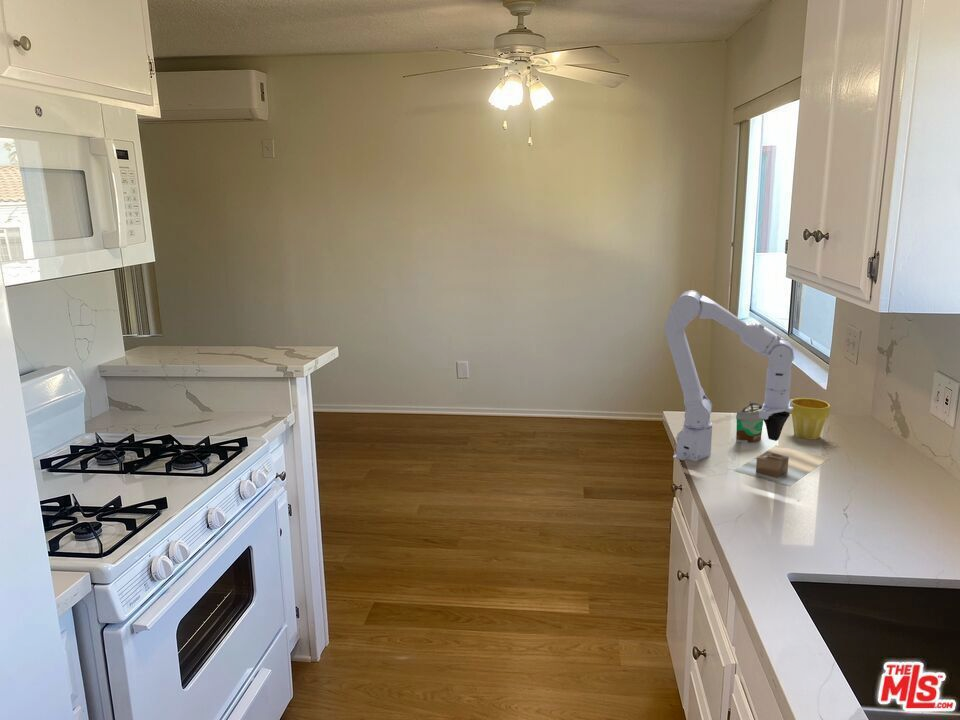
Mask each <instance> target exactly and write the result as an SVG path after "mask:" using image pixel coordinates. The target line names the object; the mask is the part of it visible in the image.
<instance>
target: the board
mask: <svg viewBox="0 0 960 720" xmlns="http://www.w3.org/2000/svg"><path fill="white" fill-rule="evenodd" d="M765 452H772V453H776V454H780V455H784V456H788V457H789V460H788V472H787V473H785V474H784V475H782V476H781V477H779V478H774V477H770V476H767V475H763V474H759V473H756V463H757V457H758V456H760V455H762V454H763V453H765ZM763 453H761V454H759V455H758V456H756V457H755V458H753V459H751V460H750V461H748V462H746V463H744V464H743V465H741V466H739V467H738V468H736V469H734V470H733V471H734V472H736V473H740V474H743V475H747V476H751V477H754V478H758V479H761V480H765V481H768V482H773V483H776V484H780V485H784V486H786V487H791V486H792V485H794V484H795V483H797V482H798V481H799V480H801V479H802V478H804V477H805V476H806V475H807V474H809V473H811V472H812V471H813V470H815V469H816V468H818V467H819V466H820V465H822V464H823V463H825V462H826V461H828V460H829V459H830V457H827V456H824V455H823V456H822V455H819V454H814V453H810V452H805V451H802V450H797V449H793V448H789V447H784V446H779V445H775V446H773V447H771V448H769V449H768V450H766V451H764V452H763Z"/></svg>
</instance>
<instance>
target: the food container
mask: <svg viewBox="0 0 960 720" xmlns="http://www.w3.org/2000/svg"><path fill="white" fill-rule="evenodd" d="M762 406H763V403H762V404H761V403H759V402H756V401H752V400H751V401H749V404H748V406H745V407H744V408H743V409H742V410H741V411H736V416H735V419H736V436H735V437H736V441H735V442H737V443H745V444H746V443H747V444H750V443H757V442H759V441H761V440H762V433H763V425H764V420H763V419H762V418H759V411H760V410H761V409H762Z"/></svg>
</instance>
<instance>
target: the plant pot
mask: <svg viewBox="0 0 960 720" xmlns="http://www.w3.org/2000/svg"><path fill="white" fill-rule="evenodd" d="M792 407H793V410H792V411H789V413H790V415H791V417H792V418H791V419H792V426H793V434H794V436H795V437H797V438H800V439H804V440H817V439H820V437H821V434H822V431H823V428H824V425H825V422H826V420H827V418H829V416H830V413H831V405H830V403H828V402H827V401H825V400H821V399H817V398H809V397H797V398H793V399H792Z"/></svg>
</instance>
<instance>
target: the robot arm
mask: <svg viewBox="0 0 960 720" xmlns="http://www.w3.org/2000/svg"><path fill="white" fill-rule="evenodd" d="M668 313H669V314H668V316H667V318H666V321H665V322H666V323H665V325H664V329H663V330H664V334H665V336H666V337H665V338H666V340H667V344H668V348H669V350H670V354H671V356H672V361H673V364H674V367H675V370H676V373H677V378H678V381H679V383H680V387H681V390H682V394H683V404H684V407H685V411H684V421H683V427H682V429H681V430H680V431H679V432H678V433H677V435H676V450H675V451H676V452H675V454H674V455H673V456H672V458H673V459H676V460H679V461H680V460H681V461H685V460H689V461H693V462H698V461H700V460H702V459H705V458H708V457H711V455H712V436H713V422H712V421H711V420H710V419H711V413H712V412H713V411H712V410H713V403H712V402H711V400H710V399H709V398H708V396H706V394H705V390H704V389H703V387H702V384H701V381H700V379H699V373H698V371H697V369H696V365H695V361H694V358H693V354H692V351H691V348H690V343H689V341H688V338H687V334H686V332H685V331H686V328H687V326H688V325H689V323H690V322H691V321H693V320H694V319H695V318H696V317H698V315H700V316H699V317H698V318H699V320H704V319H707V320H708V319H709V320H710V319H712V320H714V321H716V322H717V323H718V324H721V325H722V326H724V327H726V328H728V329H729V330H731V331H733V332H735V333H736V334H737V335H739V337H740V342H741V343H742V344H744V345H745V346H747V347H749V348H750V349H751V350H753V351H755V352H757V353H759V354H760V355H762V356H765V357H767V360H768V367H767V369H766V376H765V377H766V378H765V389H764V402H763V403H762V405H763V406H762V409H761V410H760V411H759V418H762V419H763V423H764V424H765V427H766V428H765V429H766V432H767V433H766V434H767V438H768V440H772V441H775V442H777V441H779V439H780V436H781V434H782V430H783V429H784V426H785V423H787V420H788V418H789V417H790V415H791V413H790V411H792V410H793V407H792V399H791V398H790V394H791V393H790V392H791V383H792V374H793V373H792V372H793V371H792V370H791V369H792V367H793V365H792V364H793V362H794V360H795V356H794V355H795V354H794V348H793V345H792V344H791V343H790V342H789V341H788V340H787V339H786V338H782V336H780V335H775V334H774V333H772V332H770V331H769V330H767V329H766V328H765V325H764V324H763V323H759V324H758V323H757V322H751V323H746V322H745V321H743V320H742V319H741V318H739V316H737V315H735V314H733V313H732V312H731V311H729V310H728V309H727V308H725V307H723V306H722V305H721V304H719V303H718V302H716V301H714V300H713V299H711V298H709V297H707V296H705V295H701V294H700V293H699V292H698V291H696V290H693V289H692V290H691V289H690V290H686V291H685V290H684V292H682V293H681V294H680V295H679V296H678V298H677V299H676V300H675V302H674V303H673V304H672V305H671V306H670V310H669V312H668Z"/></svg>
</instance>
